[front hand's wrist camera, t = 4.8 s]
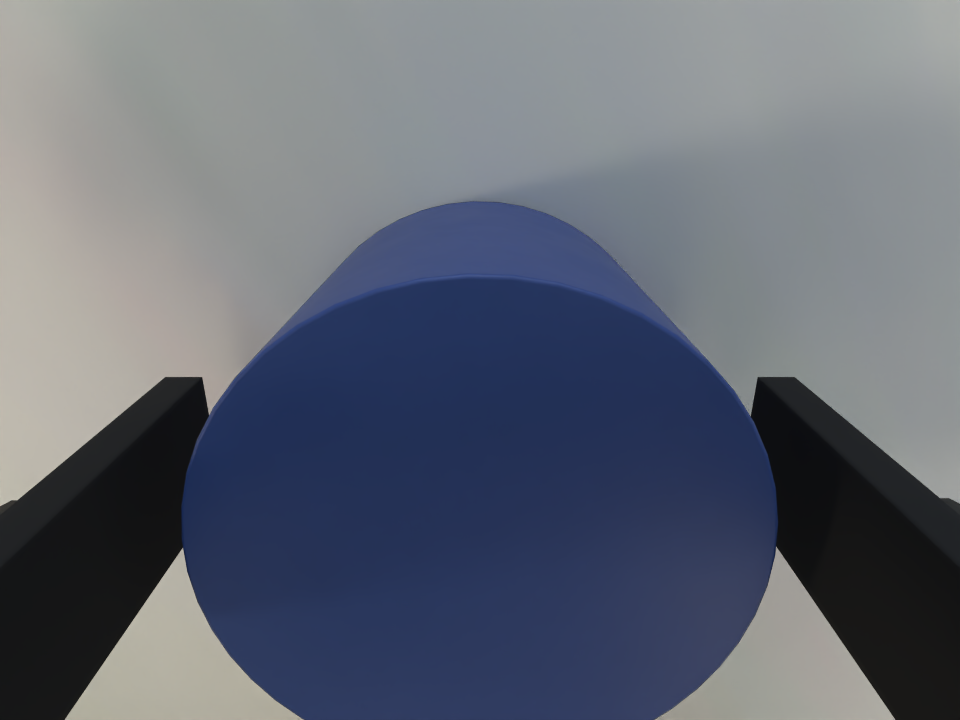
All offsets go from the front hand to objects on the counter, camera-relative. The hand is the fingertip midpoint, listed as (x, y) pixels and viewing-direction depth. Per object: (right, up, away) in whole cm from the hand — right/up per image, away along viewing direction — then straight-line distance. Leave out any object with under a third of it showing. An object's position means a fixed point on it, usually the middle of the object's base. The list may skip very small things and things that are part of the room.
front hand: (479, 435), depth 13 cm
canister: (0, +1, +3) cm, 3 cm away
